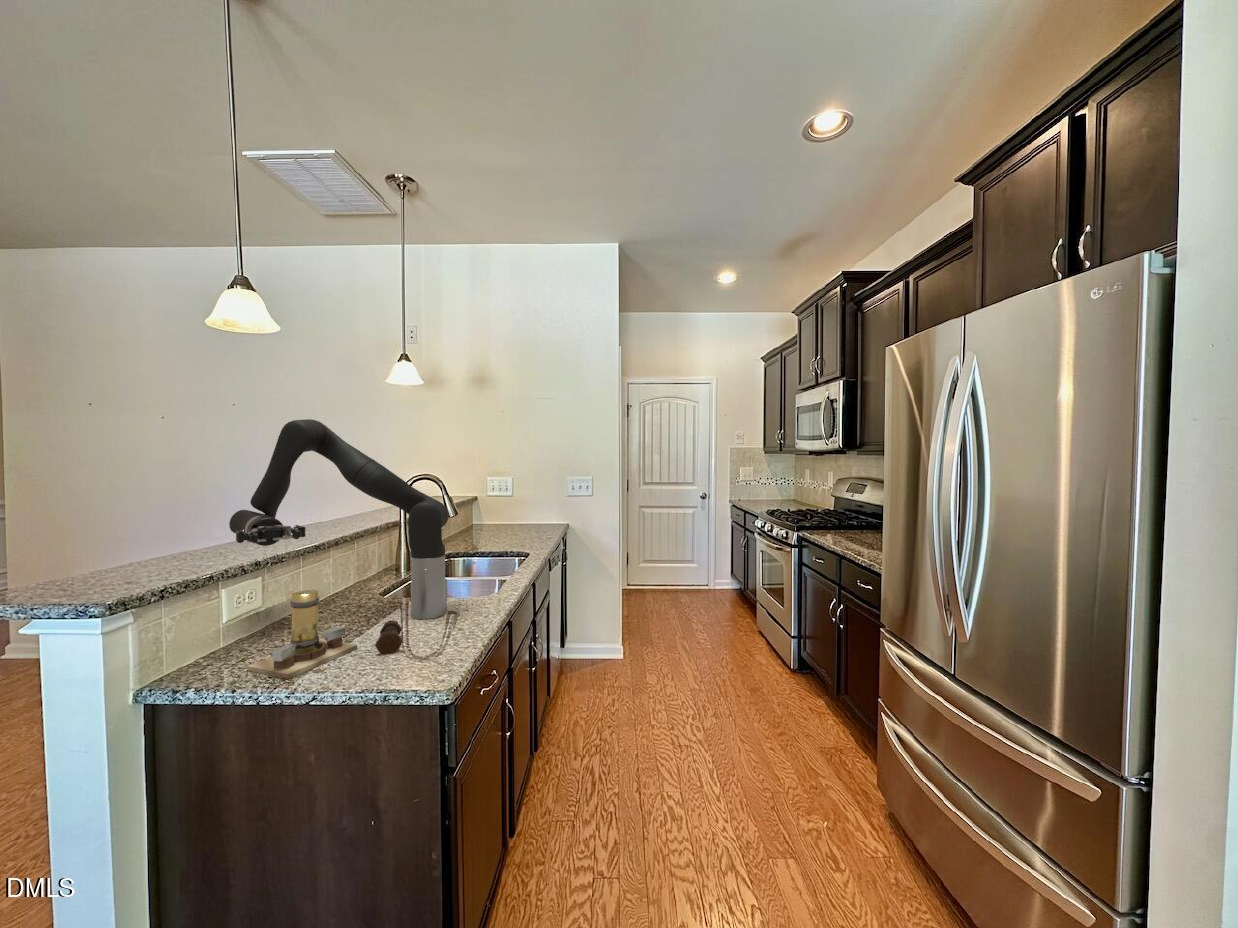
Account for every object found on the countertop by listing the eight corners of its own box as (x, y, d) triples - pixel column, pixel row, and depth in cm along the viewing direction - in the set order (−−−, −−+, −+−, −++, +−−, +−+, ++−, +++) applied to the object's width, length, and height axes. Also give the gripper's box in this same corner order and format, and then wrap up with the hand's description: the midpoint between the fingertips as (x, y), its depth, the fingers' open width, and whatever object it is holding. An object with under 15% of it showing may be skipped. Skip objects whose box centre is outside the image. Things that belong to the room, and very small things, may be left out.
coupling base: (320, 642, 119) (320, 630, 119) (357, 648, 115) (357, 636, 115) (247, 670, 103) (247, 656, 103) (287, 679, 99) (287, 664, 99)
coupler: (307, 648, 112) (307, 588, 112) (324, 651, 111) (324, 591, 110) (284, 657, 107) (284, 594, 107) (302, 660, 106) (302, 597, 105)
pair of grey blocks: (338, 633, 117) (338, 625, 117) (347, 635, 116) (347, 626, 116) (268, 660, 101) (268, 650, 101) (278, 662, 100) (278, 652, 100)
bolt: (394, 639, 126) (392, 659, 112) (376, 632, 124) (371, 651, 111) (406, 619, 127) (406, 636, 114) (388, 611, 126) (385, 628, 112)
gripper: (230, 518, 125) (241, 524, 114) (295, 514, 135) (310, 519, 124) (230, 547, 125) (241, 555, 114) (294, 540, 135) (310, 548, 124)
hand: (277, 536), depth 119 cm, fingers open, 8 cm apart
